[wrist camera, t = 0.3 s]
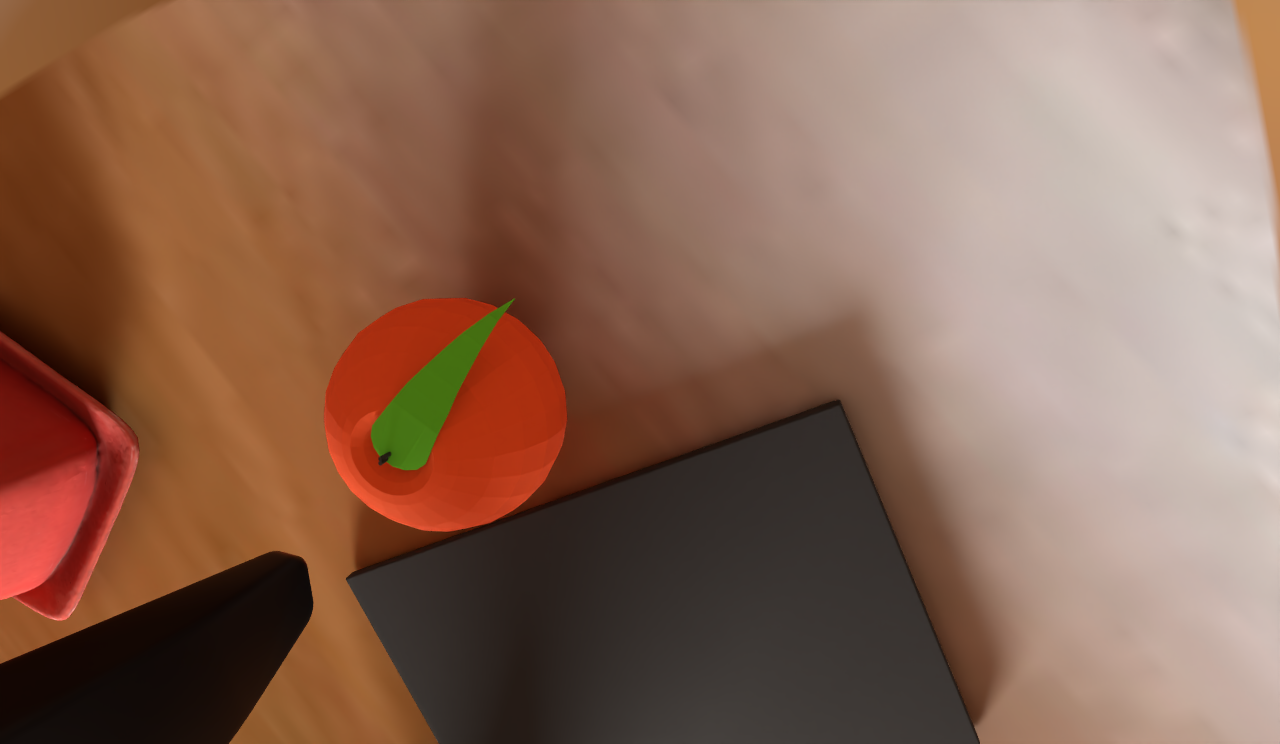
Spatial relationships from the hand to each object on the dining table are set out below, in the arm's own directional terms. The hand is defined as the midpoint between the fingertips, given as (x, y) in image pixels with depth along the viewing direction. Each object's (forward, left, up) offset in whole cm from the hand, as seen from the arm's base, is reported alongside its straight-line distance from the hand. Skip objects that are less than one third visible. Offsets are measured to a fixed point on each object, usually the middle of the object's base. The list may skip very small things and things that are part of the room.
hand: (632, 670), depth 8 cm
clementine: (-7, +3, -15) cm, 16 cm away
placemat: (-7, -9, -14) cm, 18 cm away
